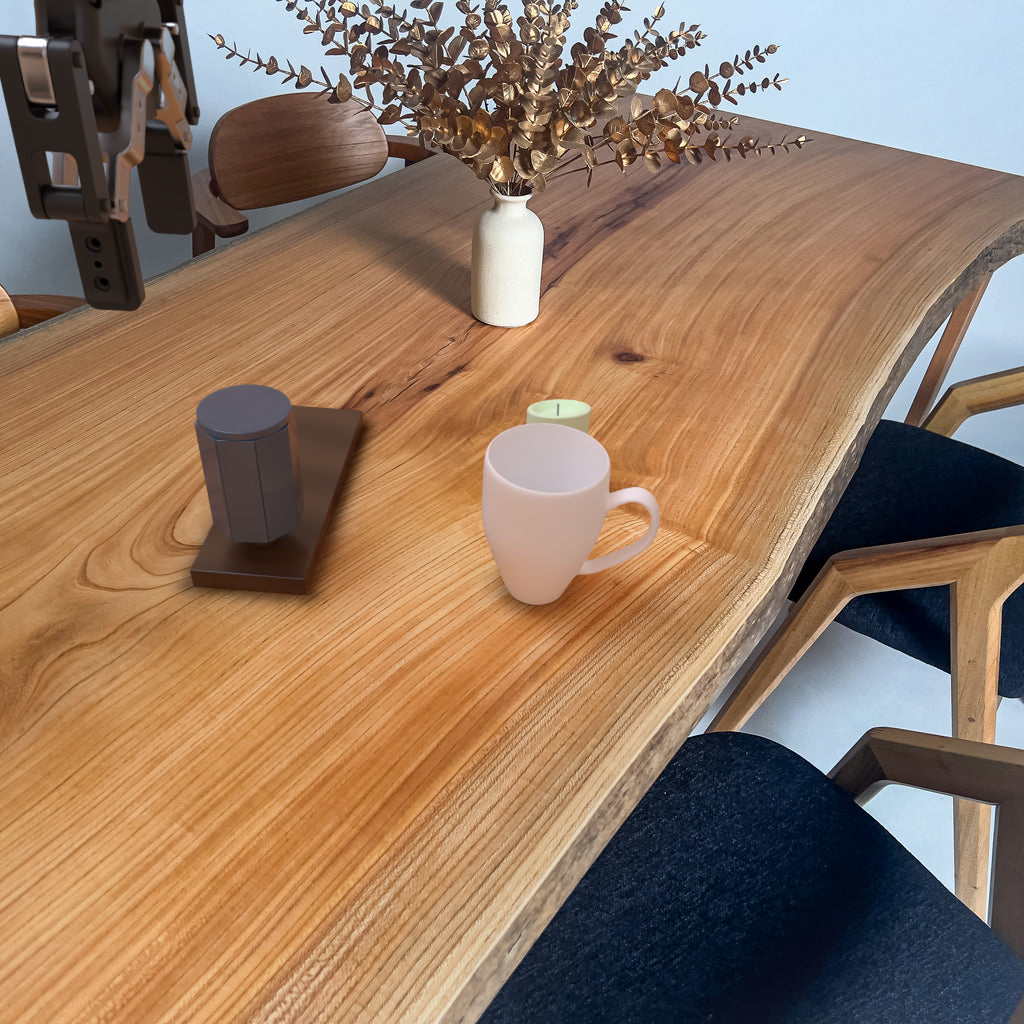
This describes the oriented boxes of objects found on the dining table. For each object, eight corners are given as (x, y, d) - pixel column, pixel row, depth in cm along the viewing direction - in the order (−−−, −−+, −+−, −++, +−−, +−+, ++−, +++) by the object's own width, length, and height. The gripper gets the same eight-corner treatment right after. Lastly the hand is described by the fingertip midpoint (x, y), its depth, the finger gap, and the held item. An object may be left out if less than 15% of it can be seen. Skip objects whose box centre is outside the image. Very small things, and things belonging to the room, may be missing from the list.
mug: (464, 611, 63) (469, 480, 56) (494, 538, 70) (502, 412, 62) (634, 648, 61) (661, 518, 54) (648, 569, 68) (675, 443, 61)
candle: (512, 472, 77) (518, 388, 71) (567, 463, 78) (576, 380, 73) (533, 507, 73) (542, 421, 68) (590, 497, 74) (602, 412, 69)
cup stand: (306, 595, 64) (290, 455, 56) (192, 586, 64) (161, 444, 56) (363, 424, 81) (356, 300, 73) (274, 417, 81) (258, 292, 73)
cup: (246, 554, 61) (229, 444, 56) (199, 512, 64) (177, 404, 59) (319, 517, 65) (309, 410, 59) (271, 479, 68) (257, 374, 62)
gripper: (34, -194, 36) (114, 208, 46) (-169, -200, 25) (-6, 333, 35) (223, -178, 37) (262, 216, 47) (108, -177, 26) (192, 343, 35)
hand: (148, 266), depth 41 cm, fingers open, 8 cm apart
